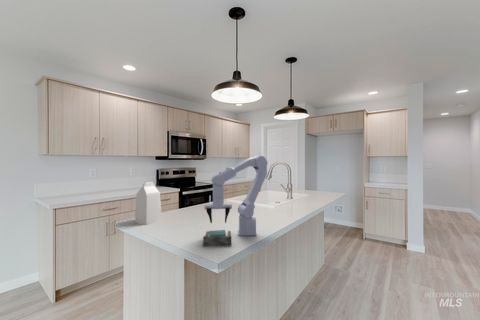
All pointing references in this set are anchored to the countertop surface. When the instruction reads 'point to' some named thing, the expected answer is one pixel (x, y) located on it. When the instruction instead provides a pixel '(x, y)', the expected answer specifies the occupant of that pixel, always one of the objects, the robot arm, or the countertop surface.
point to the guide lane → (216, 240)
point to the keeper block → (217, 233)
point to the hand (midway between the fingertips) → (218, 222)
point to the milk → (148, 204)
